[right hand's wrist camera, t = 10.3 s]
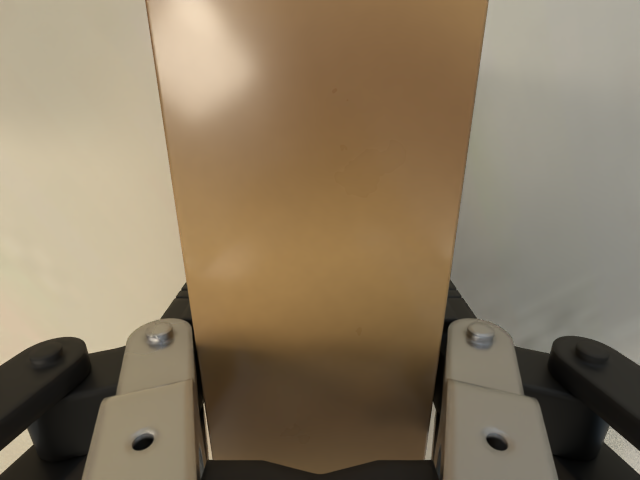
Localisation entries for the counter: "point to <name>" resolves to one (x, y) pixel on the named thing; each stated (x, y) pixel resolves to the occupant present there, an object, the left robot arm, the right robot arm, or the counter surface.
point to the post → (317, 213)
